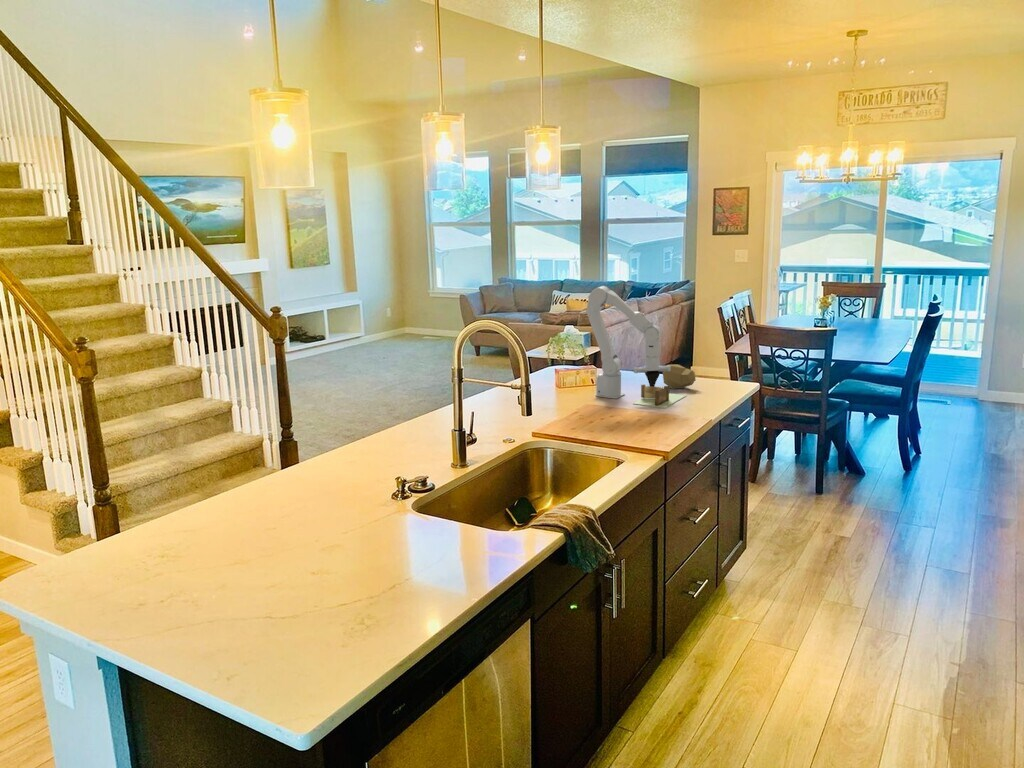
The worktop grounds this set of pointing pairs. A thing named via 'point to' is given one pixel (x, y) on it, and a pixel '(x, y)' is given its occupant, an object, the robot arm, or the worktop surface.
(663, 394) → the fixed fence
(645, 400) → the board
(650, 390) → the hinged panel
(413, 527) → the worktop surface
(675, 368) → the low-poly potato
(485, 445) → the worktop surface
